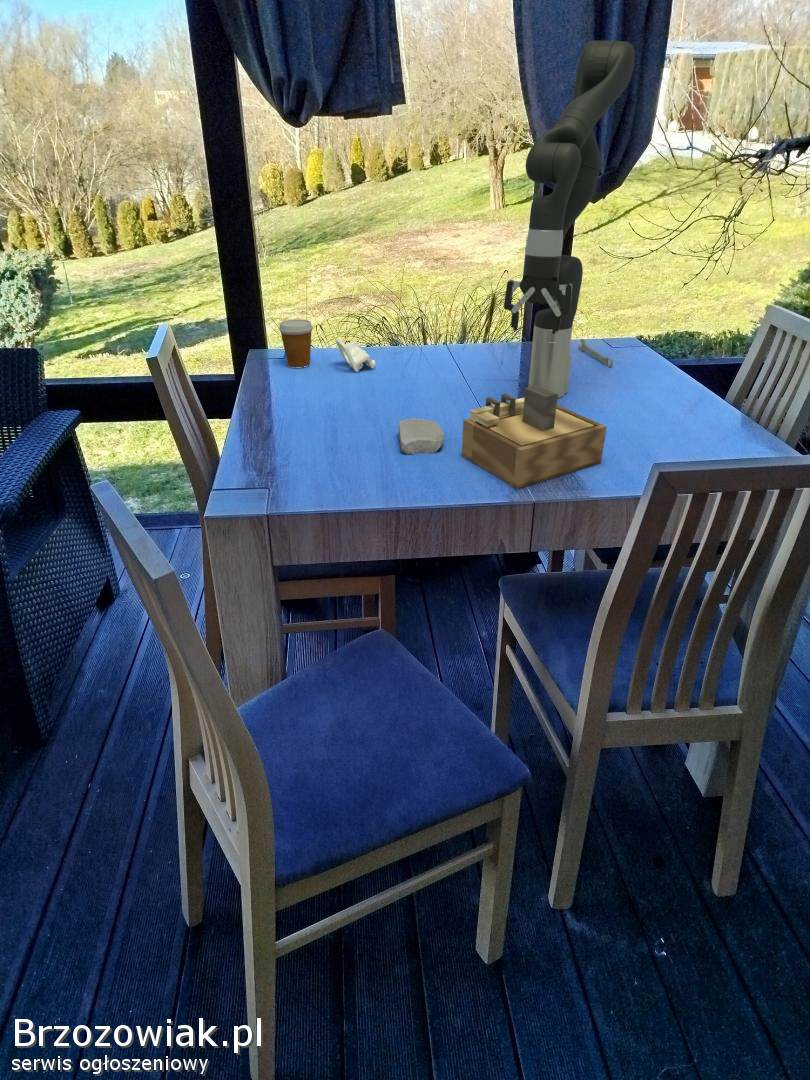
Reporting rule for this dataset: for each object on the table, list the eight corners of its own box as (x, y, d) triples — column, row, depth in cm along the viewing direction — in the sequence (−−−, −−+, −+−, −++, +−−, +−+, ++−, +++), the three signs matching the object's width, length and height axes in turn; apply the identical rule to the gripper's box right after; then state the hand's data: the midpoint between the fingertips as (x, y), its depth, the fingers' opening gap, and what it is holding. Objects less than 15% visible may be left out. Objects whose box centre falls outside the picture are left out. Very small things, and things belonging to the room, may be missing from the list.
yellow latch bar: (539, 401, 147) (541, 389, 145) (559, 410, 142) (560, 397, 141) (468, 419, 138) (469, 405, 137) (486, 428, 134) (487, 415, 132)
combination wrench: (614, 357, 192) (582, 337, 208) (610, 357, 192) (578, 337, 208) (612, 370, 194) (580, 349, 210) (608, 370, 194) (577, 349, 210)
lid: (551, 411, 145) (555, 374, 141) (593, 430, 136) (599, 391, 132) (481, 428, 137) (483, 390, 132) (521, 450, 128) (525, 409, 123)
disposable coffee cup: (286, 372, 191) (282, 328, 185) (279, 362, 199) (275, 320, 192) (319, 368, 194) (316, 325, 188) (310, 359, 202) (307, 317, 195)
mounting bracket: (347, 367, 201) (331, 335, 194) (366, 357, 201) (350, 324, 195) (360, 380, 191) (343, 346, 185) (379, 368, 192) (363, 335, 185)
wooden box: (541, 434, 152) (547, 383, 146) (600, 463, 139) (609, 409, 133) (461, 455, 142) (464, 402, 136) (517, 489, 129) (522, 432, 123)
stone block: (437, 439, 155) (394, 433, 153) (442, 420, 152) (398, 413, 150) (444, 463, 145) (398, 457, 143) (449, 443, 142) (403, 436, 141)
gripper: (579, 252, 144) (568, 331, 152) (512, 249, 148) (505, 325, 156) (576, 256, 138) (565, 338, 146) (506, 252, 141) (499, 332, 149)
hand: (534, 331), depth 151 cm, fingers open, 8 cm apart
